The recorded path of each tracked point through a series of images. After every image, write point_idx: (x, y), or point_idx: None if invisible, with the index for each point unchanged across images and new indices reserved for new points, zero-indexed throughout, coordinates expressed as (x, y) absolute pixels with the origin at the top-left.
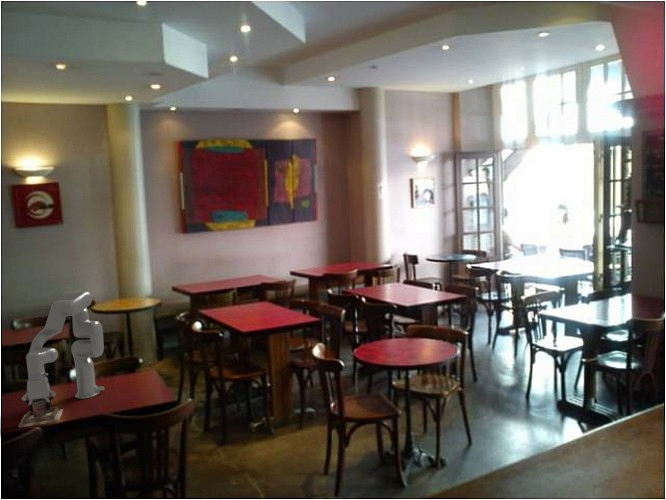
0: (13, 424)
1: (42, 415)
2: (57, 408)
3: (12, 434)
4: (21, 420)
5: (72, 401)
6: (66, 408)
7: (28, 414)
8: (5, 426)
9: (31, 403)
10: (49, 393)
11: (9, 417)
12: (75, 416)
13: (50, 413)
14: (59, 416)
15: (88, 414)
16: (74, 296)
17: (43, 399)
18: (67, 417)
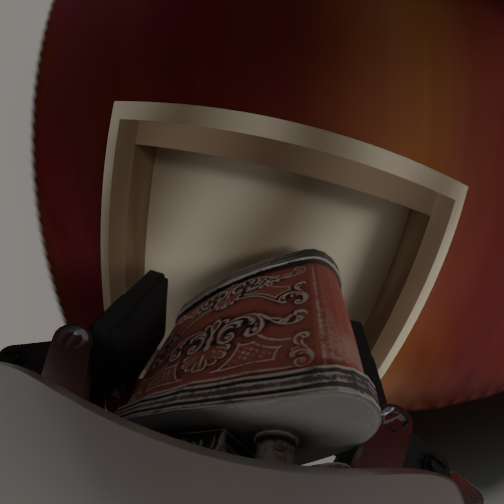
0: (72, 247)
1: (271, 253)
2: (438, 228)
3: (117, 398)
4: (101, 260)
5: (499, 6)
6: (484, 125)
7: (128, 243)
8: (44, 251)
9: (104, 396)
10: (455, 485)
11: (51, 63)
12: (455, 369)
13: (353, 244)
14: (385, 371)
15: (496, 370)
16: None
17: (292, 449)
18: (423, 362)
